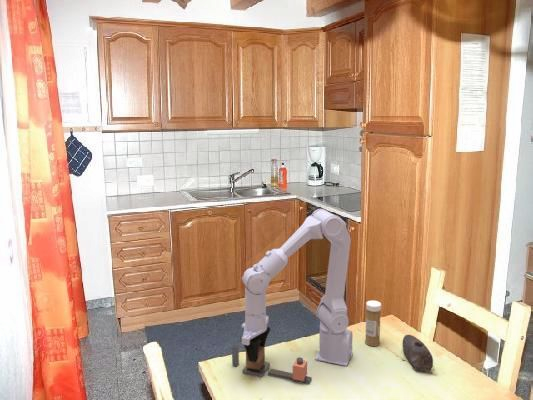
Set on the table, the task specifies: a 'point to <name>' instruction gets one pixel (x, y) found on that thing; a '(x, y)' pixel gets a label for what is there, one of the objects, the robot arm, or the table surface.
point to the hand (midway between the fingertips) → (256, 356)
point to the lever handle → (299, 369)
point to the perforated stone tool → (417, 353)
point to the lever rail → (287, 376)
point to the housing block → (259, 362)
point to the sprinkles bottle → (373, 323)
